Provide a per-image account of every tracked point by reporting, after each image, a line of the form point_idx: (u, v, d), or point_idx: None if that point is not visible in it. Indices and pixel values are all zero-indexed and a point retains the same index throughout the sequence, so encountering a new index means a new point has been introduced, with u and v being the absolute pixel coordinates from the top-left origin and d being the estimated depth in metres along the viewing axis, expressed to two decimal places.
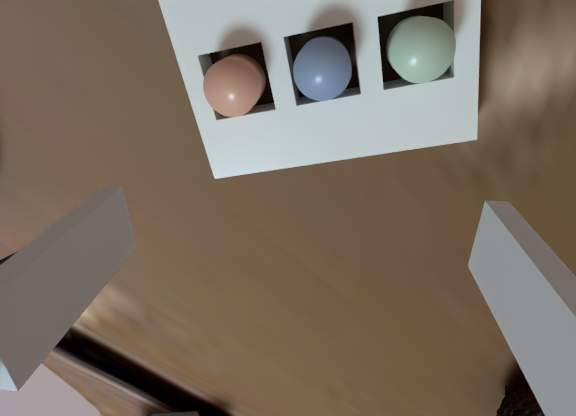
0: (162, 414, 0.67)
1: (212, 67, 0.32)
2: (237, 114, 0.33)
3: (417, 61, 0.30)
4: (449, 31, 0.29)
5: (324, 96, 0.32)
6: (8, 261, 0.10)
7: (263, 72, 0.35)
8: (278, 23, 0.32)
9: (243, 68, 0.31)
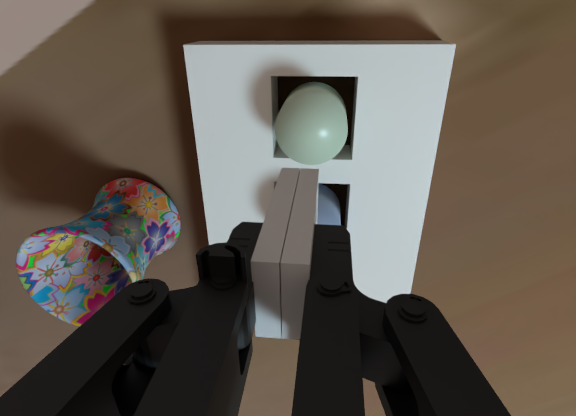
0: None
1: None
2: None
3: (320, 137, 0.25)
4: (294, 100, 0.24)
5: None
6: (264, 226, 0.11)
7: None
8: None
9: None
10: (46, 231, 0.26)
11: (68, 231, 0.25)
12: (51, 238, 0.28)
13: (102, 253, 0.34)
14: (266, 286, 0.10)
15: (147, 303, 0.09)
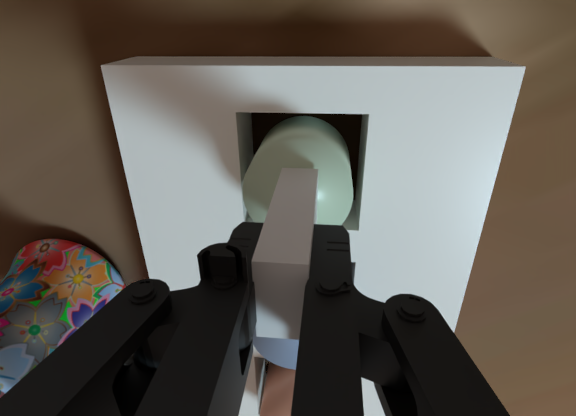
0: None
1: None
2: None
3: None
4: (271, 152, 0.15)
5: None
6: (265, 226, 0.11)
7: None
8: None
9: (271, 413, 0.23)
10: None
11: None
12: None
13: None
14: (267, 286, 0.10)
15: (148, 303, 0.09)
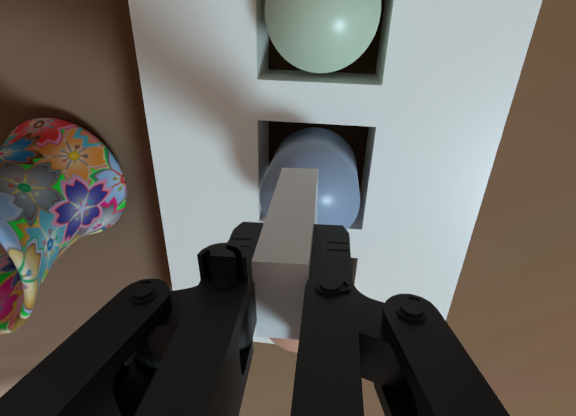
0: None
1: None
2: None
3: (337, 25, 0.16)
4: None
5: (352, 206, 0.18)
6: (265, 226, 0.11)
7: None
8: (240, 222, 0.22)
9: None
10: None
11: None
12: None
13: None
14: (267, 286, 0.10)
15: (148, 303, 0.09)
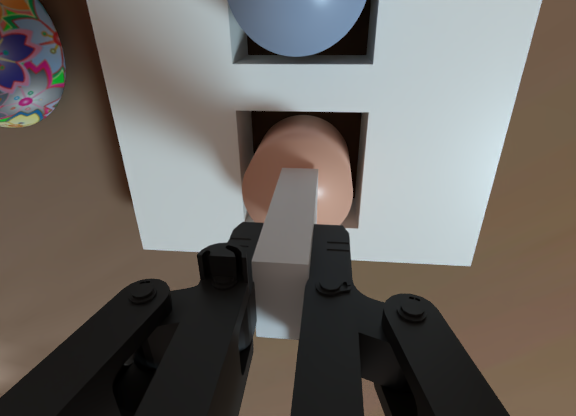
0: None
1: (252, 213, 0.17)
2: (349, 195, 0.16)
3: None
4: None
5: None
6: (265, 226, 0.11)
7: (296, 116, 0.19)
8: (208, 69, 0.16)
9: (261, 159, 0.16)
10: None
11: None
12: None
13: None
14: (267, 286, 0.10)
15: (148, 303, 0.09)
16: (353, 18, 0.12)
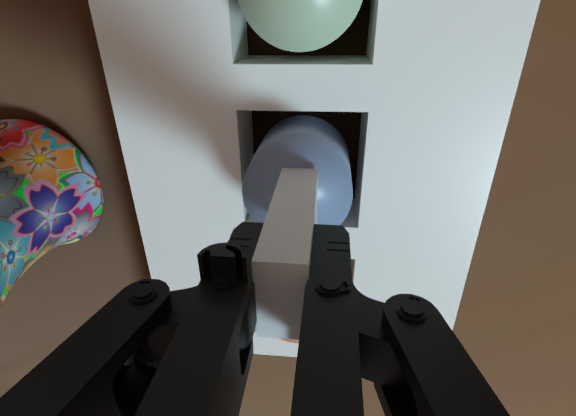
0: None
1: None
2: None
3: None
4: None
5: (344, 199, 0.16)
6: (265, 226, 0.11)
7: None
8: (224, 225, 0.20)
9: None
10: None
11: None
12: None
13: None
14: (267, 286, 0.10)
15: (148, 303, 0.09)
16: (340, 221, 0.17)
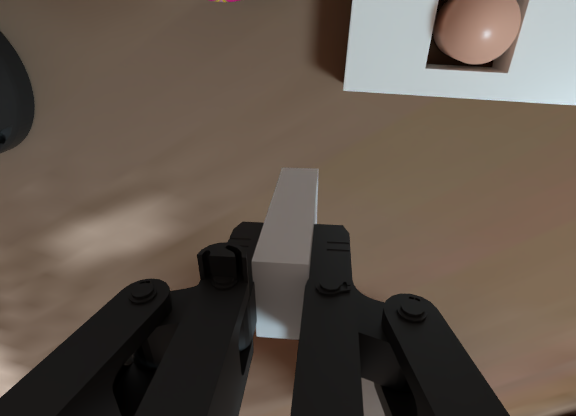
0: None
1: (448, 42, 0.27)
2: (517, 28, 0.26)
3: None
4: None
5: None
6: (265, 226, 0.11)
7: None
8: None
9: (466, 0, 0.25)
10: None
11: None
12: None
13: None
14: (267, 286, 0.10)
15: (148, 303, 0.09)
16: None
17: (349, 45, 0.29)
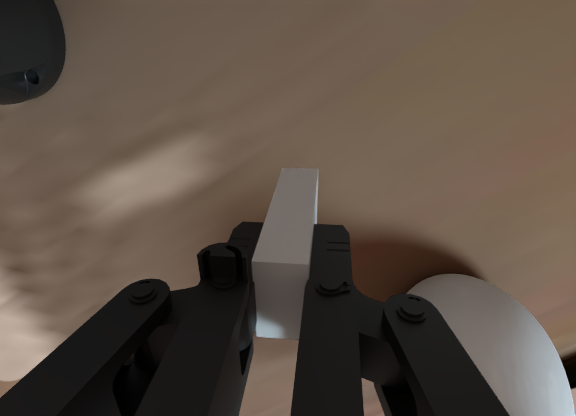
0: None
1: None
2: None
3: None
4: None
5: None
6: (265, 226, 0.11)
7: None
8: None
9: None
10: None
11: None
12: None
13: None
14: (267, 286, 0.10)
15: (148, 303, 0.09)
16: None
17: None
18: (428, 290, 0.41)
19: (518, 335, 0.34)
